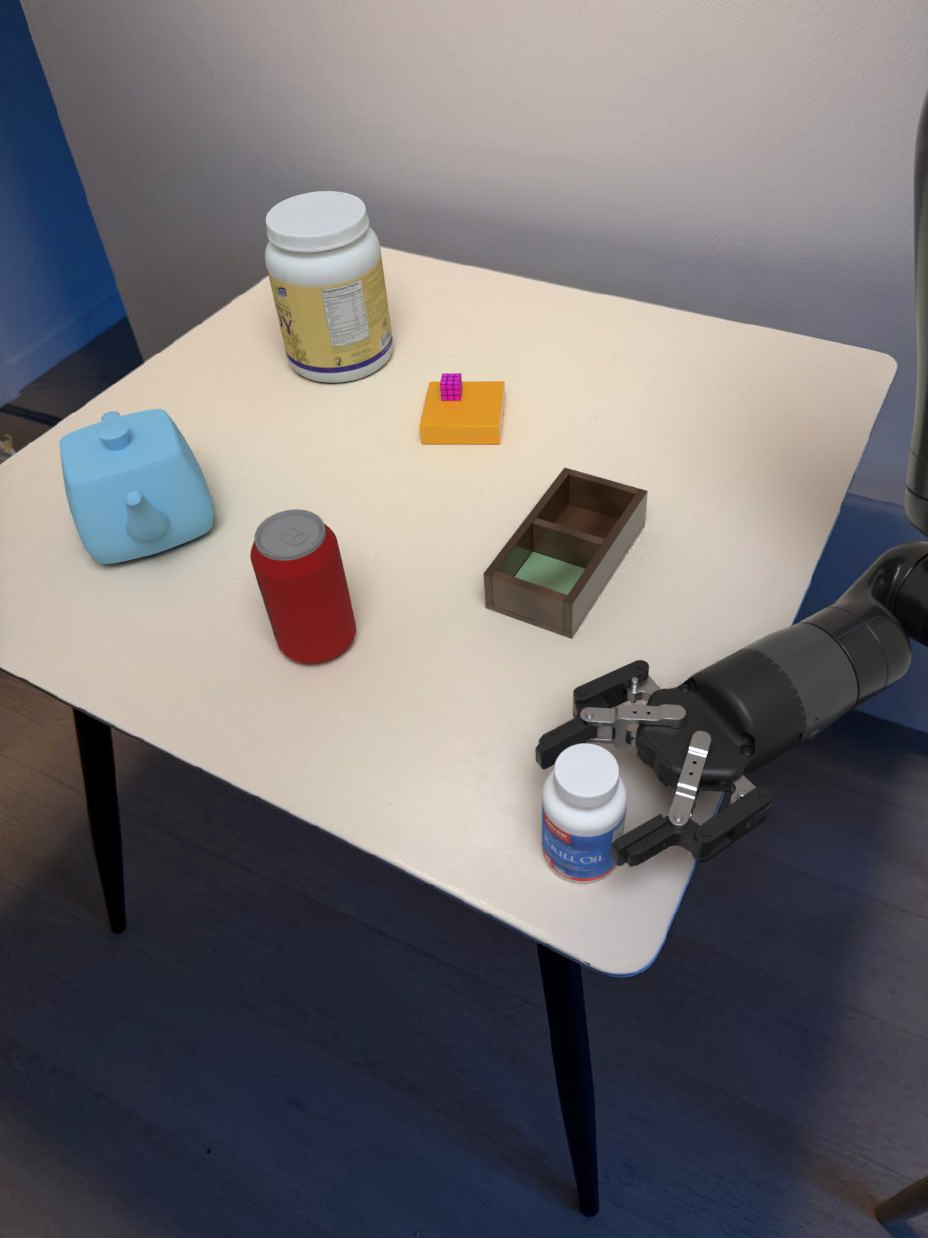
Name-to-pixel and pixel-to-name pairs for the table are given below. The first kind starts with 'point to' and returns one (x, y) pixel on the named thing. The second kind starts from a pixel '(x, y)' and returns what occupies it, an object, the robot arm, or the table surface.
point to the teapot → (134, 486)
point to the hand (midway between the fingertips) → (574, 805)
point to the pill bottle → (582, 813)
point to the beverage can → (303, 586)
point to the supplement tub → (328, 286)
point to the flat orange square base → (463, 411)
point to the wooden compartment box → (565, 551)
